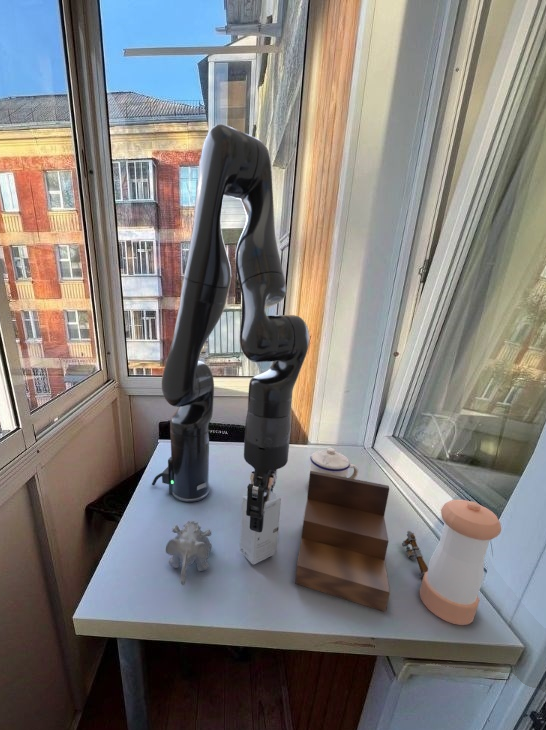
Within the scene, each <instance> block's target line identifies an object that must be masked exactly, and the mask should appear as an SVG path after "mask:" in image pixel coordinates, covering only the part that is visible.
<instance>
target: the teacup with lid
mask: <svg viewBox="0 0 546 730" xmlns="http://www.w3.org/2000/svg"><path fill="white" fill-rule="evenodd" d="M309 458H310V459H309V460H310V466H309V467H310V468H309V472H310V471H315V472H320V473H325V474H330V475H335V476H341V477H346V478H351V479H357V477H358V474H359V469H358V466H357V465H355V464H353V463H350V460H349V459H348V457H347V456H345V455H344V454H343V453H340V452H338V451H336V448H333V447H327V448H326V449H320V450H315V451H314V452H312V454H311V455H310V457H309ZM349 469H353V472H352V473H351V475H350V476H349V477H348V472H349ZM309 477H310V474H309ZM309 477H308V478H309ZM307 484H308V486H309V483H307Z"/></svg>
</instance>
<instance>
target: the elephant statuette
mask: <svg viewBox="0 0 546 730" xmlns="http://www.w3.org/2000/svg"><path fill="white" fill-rule="evenodd" d="M171 530H172V532H173V533H174V534H176V533H177V535H176V536H175V537H174V538H172V539H170V540H169V541H168V542H167V544H166V545H165V553H166V554H167V555H169V556H172V557H170V559H169V560H168V564H169V565H170V566H171V567H172V568H174V569H179V568H180V564H181V571H180V572H181V573H180V581H179V582H180V585H181V586H184V585H185V584H186V581H187V567H188V566H191V565H192V564H194V562H195V564H196V570H197V571H198V572H203V571H206V570H208V569H209V563H208V562H207V559H208V558H209V553H210V552H211V551H212V549H213V544H212V543H211V541H210V539H209V537H211V535H212V531H211V529H210V528H206V530H205V531H203V530H202V527H201V526H200V524H199V522H196V521H195V520H193V521H187V522H186V524H183V528H182V529H180V528H179V526H178V524H175V525H174V526H173V527H172V529H171Z"/></svg>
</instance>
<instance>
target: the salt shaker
mask: <svg viewBox="0 0 546 730" xmlns="http://www.w3.org/2000/svg"><path fill="white" fill-rule="evenodd" d="M440 515H441V519H442V521H443V522H444V523H443V526H442V531H441V534H440V538H439V542H438V544H437V545H436V546H435V549H434V551H433V553H432V555H431V557H430V560H429V563H428V566H427V567H428V571H427V572H425V574H424V576H423V578H422V580H421V584H420V587H419V597H420V599H421V601H422V604H424V606H425V607H426V609H428V610H429V611H430V612H431V613H432V614H433V615H435V616H436V617H437V618H440V619H442V620H443V621H446V622H447V623H450V624H453V625H459V626H465V625H466V626H467V625H470V624H471V623H473V622H474V619H475V616H476V613H477V610H478V607H479V604H480V597H479V594H480V590H481V588H482V585H483V582H484V569H485V567H484V566H485V557H486V554H487V551H488V548H489V544H490V541H492V540H493V539H495V538H497V537H498V536H499V535H500V534H501V532H502V524H501V522H500V520H499V518H498V517H497V515H496V514H495V513H494V512H493V511H492V510H491V509H489V508H487V507H485V506H483V505H481V504H479V503H478V502H475V501H470V500H465V499H451V500H449V501H447V502H445V503H444V504H443V505H442V507H441V508H440Z"/></svg>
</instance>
